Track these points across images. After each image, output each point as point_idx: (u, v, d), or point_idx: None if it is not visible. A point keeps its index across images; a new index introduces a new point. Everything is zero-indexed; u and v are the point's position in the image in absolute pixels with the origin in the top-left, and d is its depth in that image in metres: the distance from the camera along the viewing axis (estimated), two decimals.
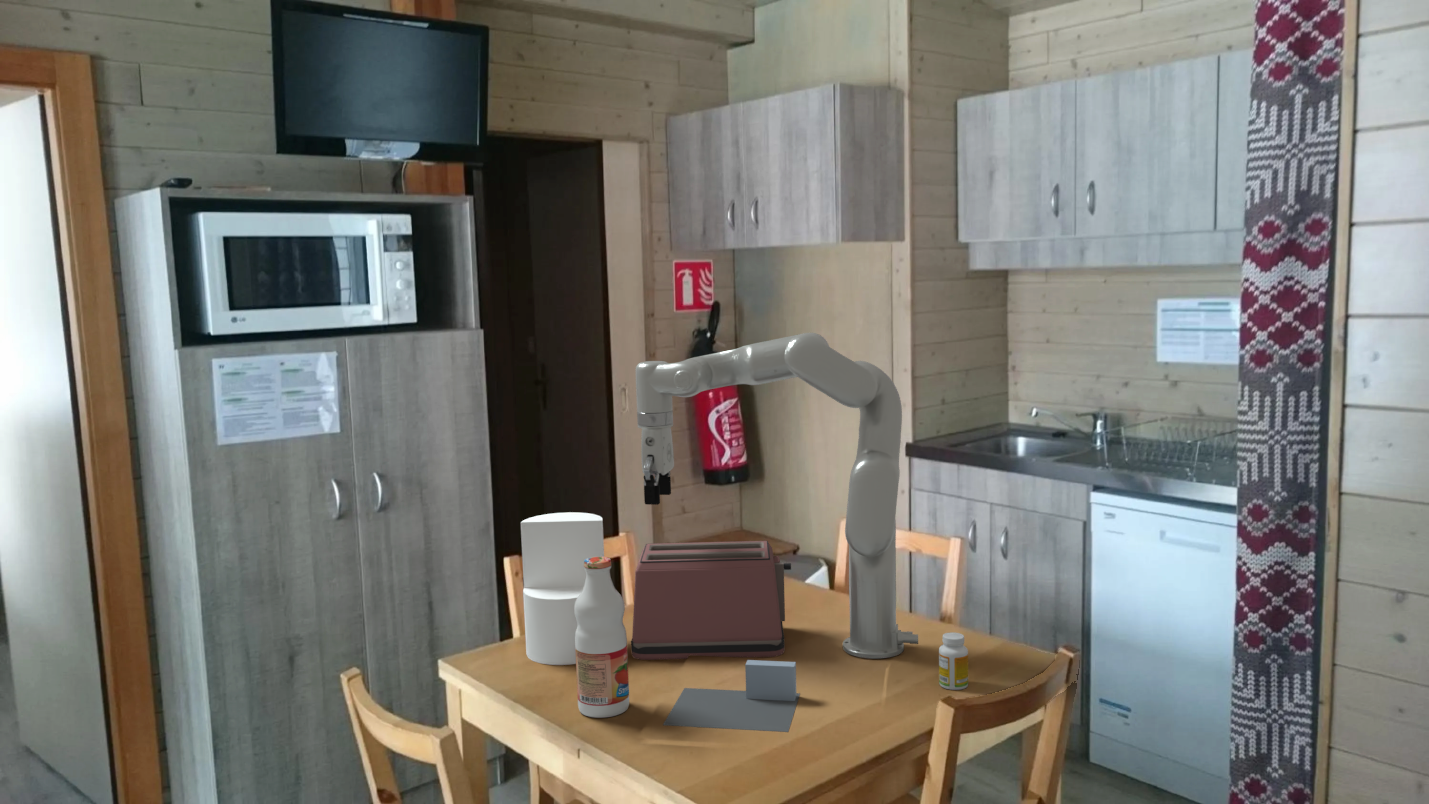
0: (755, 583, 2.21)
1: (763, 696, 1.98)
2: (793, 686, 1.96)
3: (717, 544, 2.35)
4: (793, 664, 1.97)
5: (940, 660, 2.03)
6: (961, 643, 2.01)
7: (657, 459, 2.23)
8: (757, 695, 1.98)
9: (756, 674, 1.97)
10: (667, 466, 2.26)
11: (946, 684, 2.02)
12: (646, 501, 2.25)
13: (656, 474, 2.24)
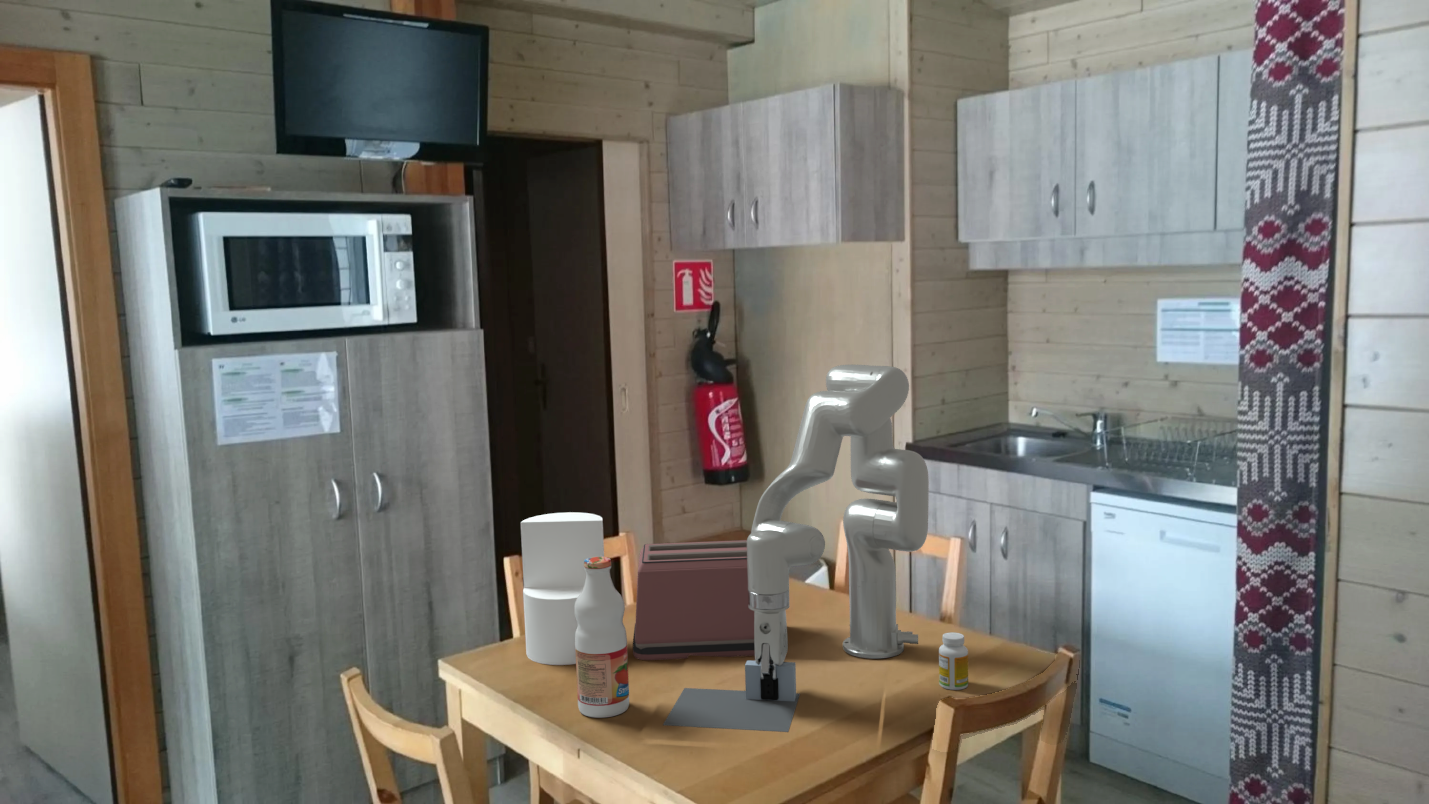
0: None
1: None
2: (793, 686, 1.96)
3: (716, 543, 2.36)
4: (793, 664, 1.97)
5: (940, 660, 2.03)
6: (961, 643, 2.01)
7: (773, 649, 1.92)
8: (757, 695, 1.98)
9: (756, 674, 1.97)
10: (783, 654, 1.95)
11: (946, 684, 2.02)
12: (763, 696, 1.97)
13: (774, 668, 1.95)
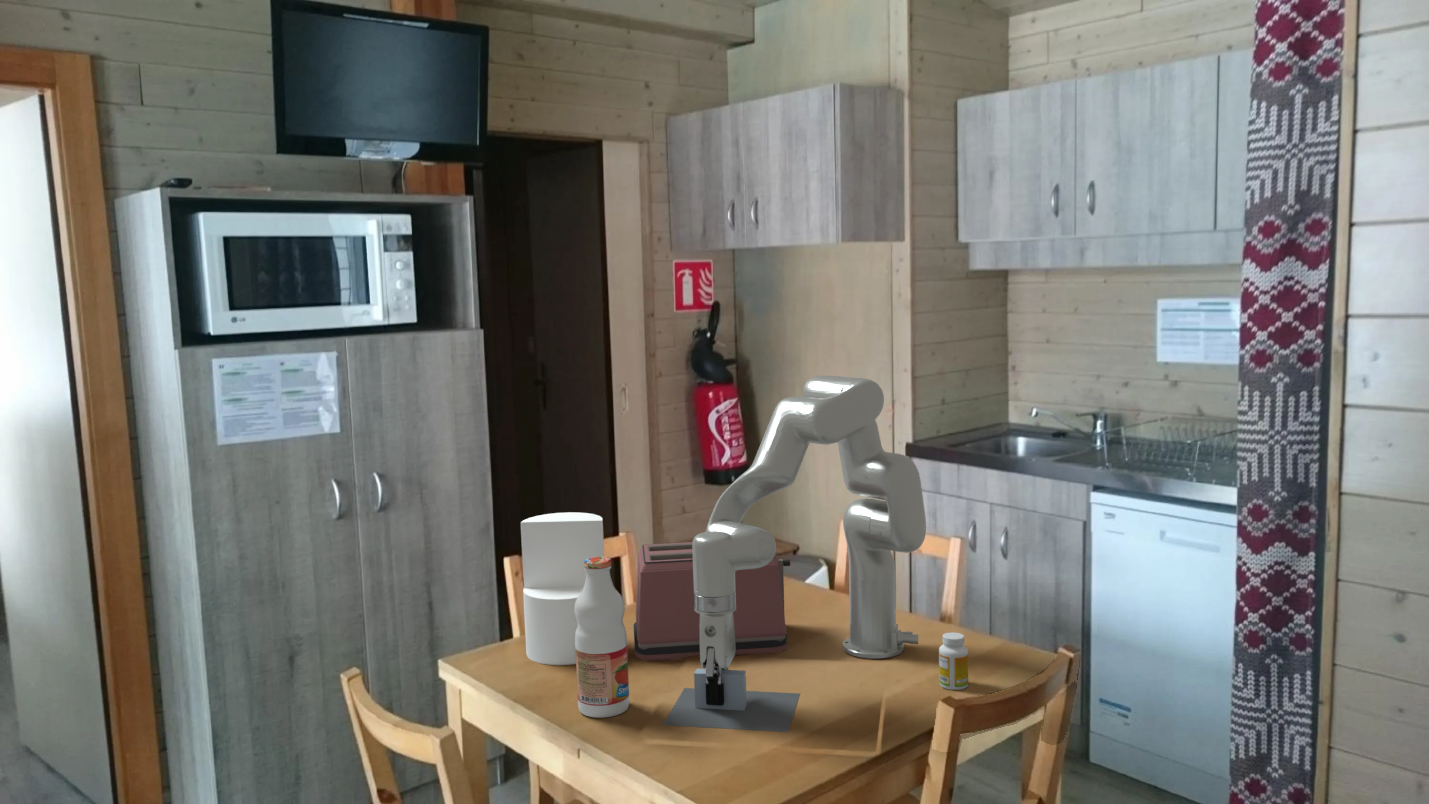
0: (760, 580, 2.23)
1: (712, 705, 1.94)
2: (742, 695, 1.93)
3: None
4: (743, 673, 1.93)
5: (940, 660, 2.03)
6: (961, 643, 2.01)
7: (719, 652, 1.89)
8: (706, 704, 1.94)
9: (705, 683, 1.94)
10: (729, 657, 1.92)
11: (946, 684, 2.02)
12: (708, 701, 1.93)
13: (719, 672, 1.91)
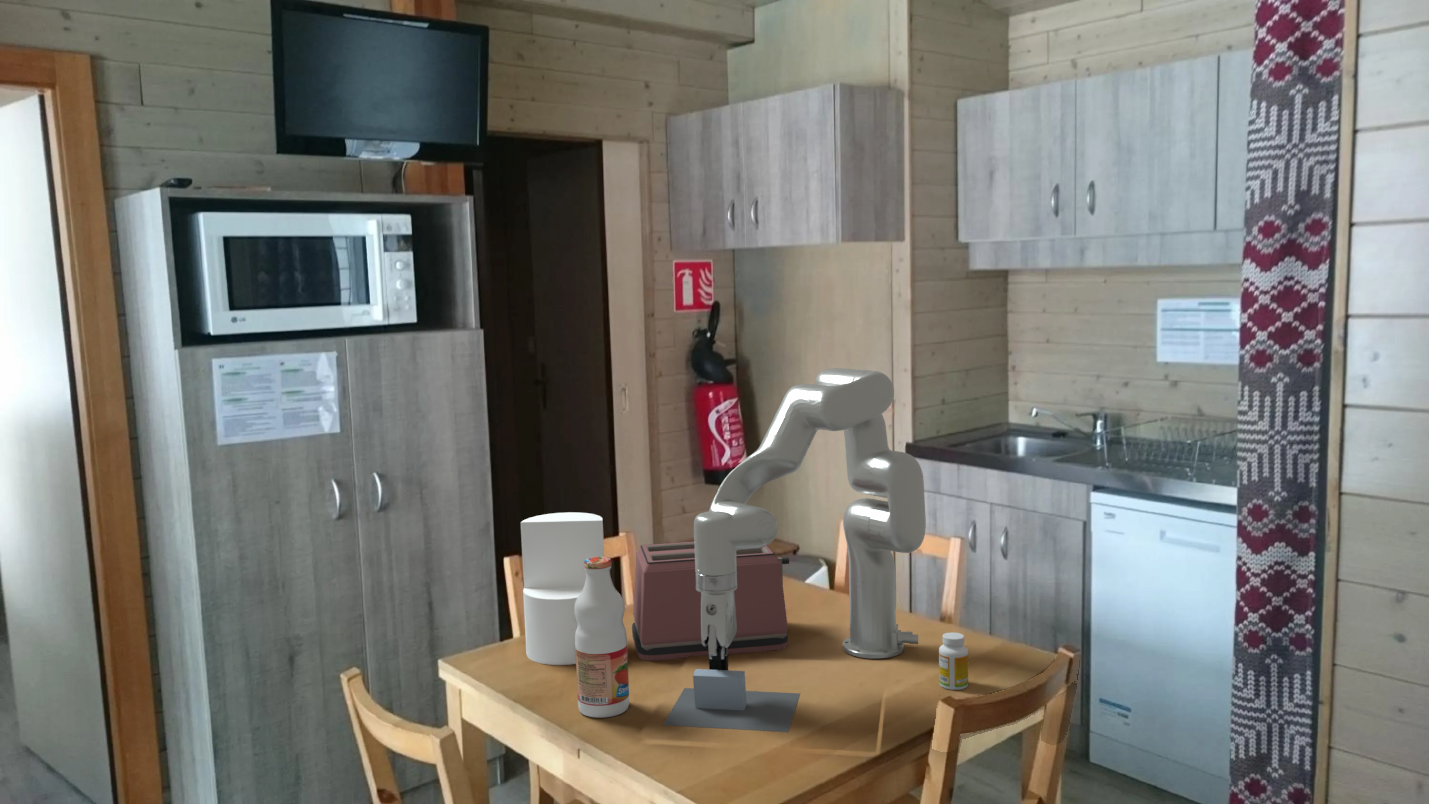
0: (762, 578, 2.24)
1: (712, 705, 1.94)
2: (742, 696, 1.92)
3: None
4: (742, 674, 1.92)
5: (940, 660, 2.03)
6: (961, 643, 2.01)
7: (720, 630, 1.90)
8: (706, 705, 1.94)
9: (704, 685, 1.93)
10: (730, 636, 1.93)
11: (946, 684, 2.02)
12: None
13: (722, 649, 1.94)
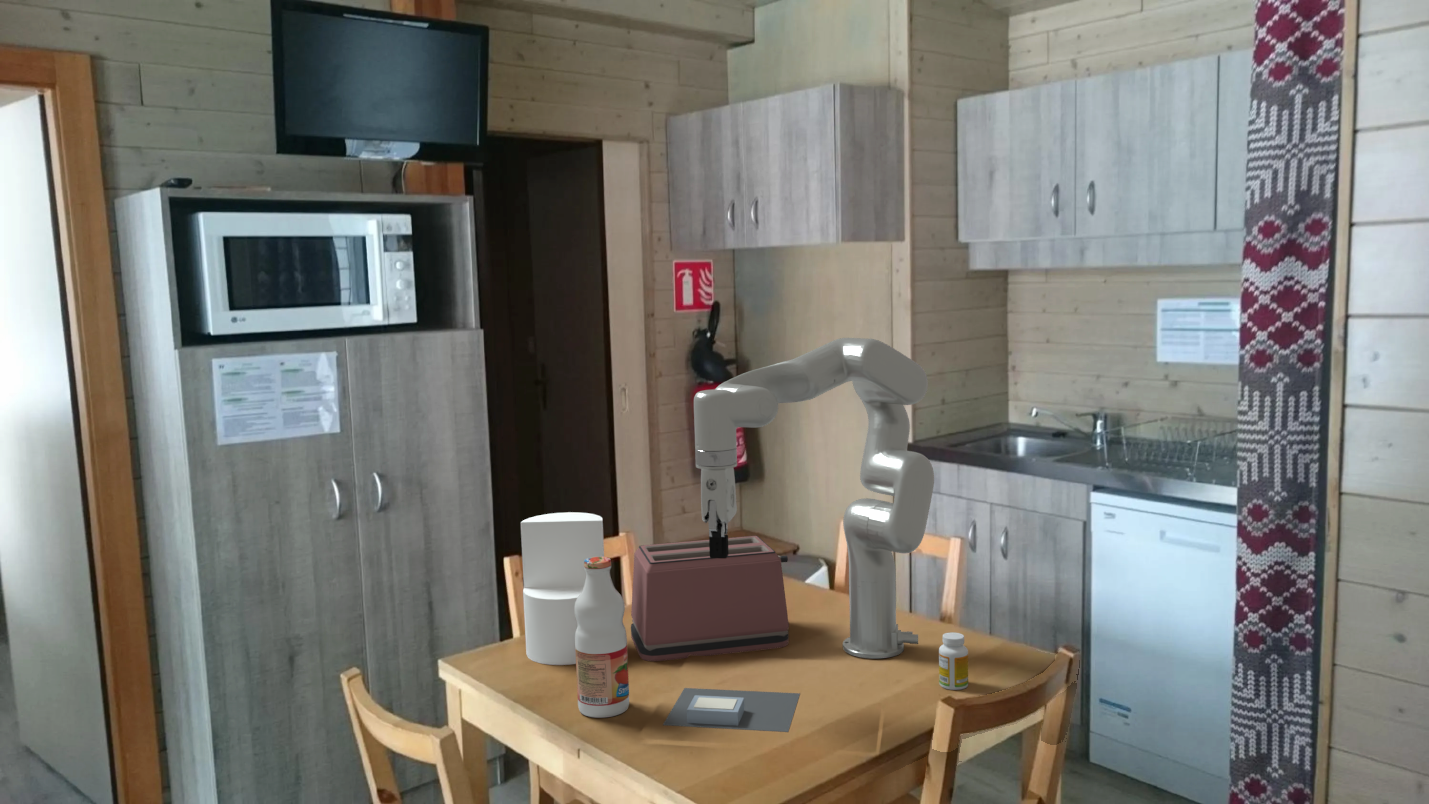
0: (763, 577, 2.25)
1: None
2: (740, 716, 1.90)
3: None
4: (736, 719, 1.87)
5: (940, 660, 2.03)
6: (961, 643, 2.01)
7: (720, 505, 1.91)
8: None
9: None
10: (730, 513, 1.94)
11: (946, 684, 2.02)
12: (711, 554, 1.97)
13: (722, 526, 1.94)
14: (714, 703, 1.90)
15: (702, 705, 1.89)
